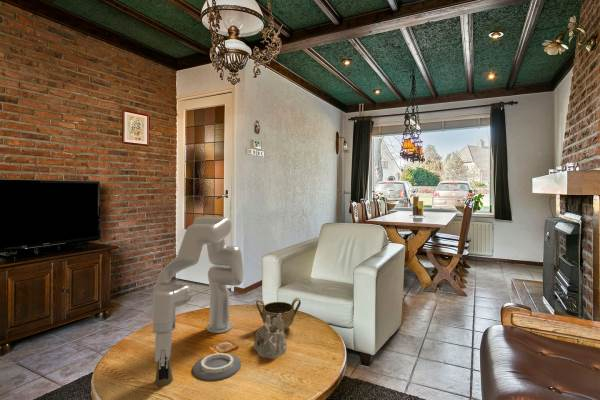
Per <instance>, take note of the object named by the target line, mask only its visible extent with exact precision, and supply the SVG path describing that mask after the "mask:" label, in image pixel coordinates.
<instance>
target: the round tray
mask: <svg viewBox="0 0 600 400" xmlns="http://www.w3.org/2000/svg"><path fill="white" fill-rule="evenodd" d="M241 362H242V361H241V359H240V358H239V357H238V356H237V355H236V354H235V355H234V354H231V353H225V352H218V353H212V354H209V355H205V356H203V357H201V358H199V359H198V360H197V361H196V362H195V363H194V365H193V367H192V372H193V375H194V376H195V377H197V378H198V379H201V380H203V381H219V380H224V379H227V378H230V377H232V376H234V375H236V374H237V373H238V372H239V371H240V370H241V365H242V363H241Z"/></svg>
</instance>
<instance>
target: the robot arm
mask: <svg viewBox="0 0 600 400" xmlns="http://www.w3.org/2000/svg"><path fill="white" fill-rule="evenodd" d="M231 230H232V222H231V219H229V218H228V217H225V216H224V217H223V216H198V217H195V218H194V219H193V222H192V224H190V225H189V226H188V227H187V228H186V230H185V233H184V236H183V238H182V241H181V244H180V247H179V249H178V253H177V256H176V257H175V258H174V259H173V260H171V261H170V262H169V263H167V264H166V265H165V267H164V268H163V269H162V270H161V271H160V272H159V274H158V275H157V278H156V279H157V280H156V281H155V284H154V287H153V291H152V332H153V333H154V334H155V338H154V362H155V363H158V361H159V380H162V379H168V375H169V367H168V360H169V359H170V353H171V352H172V337H173V336H172V335H173V331H174V330H175V329H176V309H177V308H179V307H181V306H185V305H186V304H188V303H190V301H191V300H192V298H193V295H194V294H193V293H194V292H193V288H191V286H189V285H188V284H183V283H181V284H180V283H170V282H171V280H172V279H173V277H174V276H175V275H177V273H179V272H181V271H182V270H186V269H188V268H190V267H194V266H195V265H196V264H198V262H199V260H200V256H201V253H202V250H203V247H204V245H206V249H207V256H208V260H209V263H210V264H211V265H212V266H211V267H209V269H208V271H207V280H208V284H209V323H208V324H207V325H206V331H207V332H209V333H211V334H222V333H227V332H229V331H230V330H232V328H233V323H232V322H230V290H229V288H228V287H227V286H234V287H235V286H236V287H237V286H240V285H242V284H243V281H244V278H245V277H244V275H245V274H244V265H243V255H242V251H241V249H240V247H238V246H233V245H227V244H226V241H225V238H226V237H227V236H229V234H230V233H231ZM166 357H167V359H165V358H166ZM170 360H171V359H170ZM165 361H166V363H165Z"/></svg>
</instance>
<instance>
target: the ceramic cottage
mask: <svg viewBox="0 0 600 400" xmlns="http://www.w3.org/2000/svg"><path fill="white" fill-rule="evenodd" d="M253 348H254V350H255V351H256V352H257V354H258V356H259V357H261V358H265V359H271V360H274V359H277V358H279V357H280V356H281V355H283V354H285V353H286V351H287V349H288V346H287V341H286V334H285V329H284V322H283V320H281V313H279V315H277V317H276V318H274V319H273V323H272V326H271V324H270V316H269V315H267V316H266V322H265V324H264V323H263V325H262V326H261V327H260V328H259V329H257V331H256V332H255V340H254V343H253Z"/></svg>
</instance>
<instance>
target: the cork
mask: <svg viewBox="0 0 600 400" xmlns="http://www.w3.org/2000/svg"><path fill="white" fill-rule="evenodd" d="M172 356H173V353H172V351H171V353H170V359H169V360H168V367H169V375H168V379H162V380H159V361H157V367H156V373H155V380H154V385H156V386H157V387H164V386H165V387H166V386H168V385H170V384H172V383H173V381H174V377H173V370H172V363H171V359H172ZM165 359H167V357H166V358H165ZM165 363H166V361H165Z"/></svg>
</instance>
